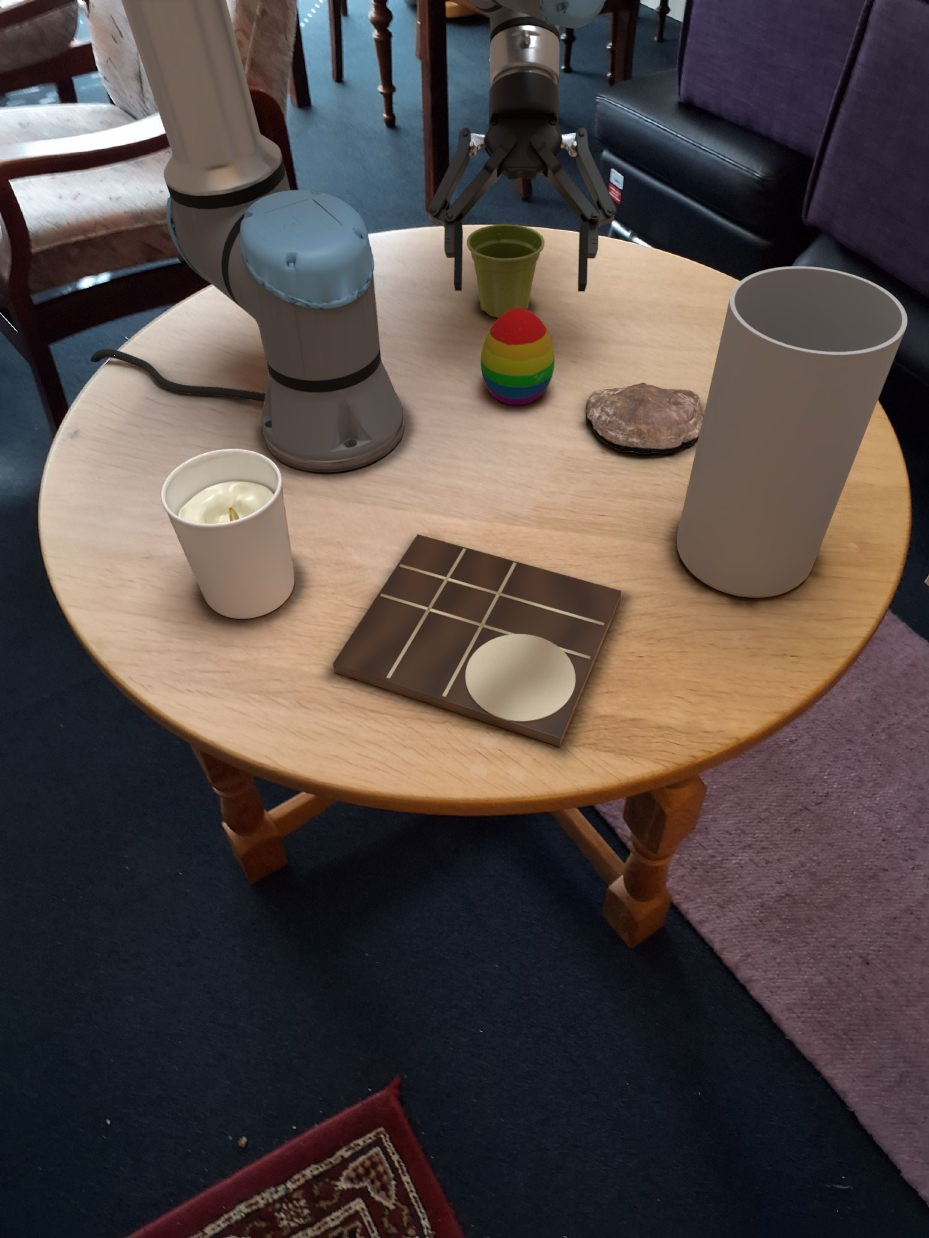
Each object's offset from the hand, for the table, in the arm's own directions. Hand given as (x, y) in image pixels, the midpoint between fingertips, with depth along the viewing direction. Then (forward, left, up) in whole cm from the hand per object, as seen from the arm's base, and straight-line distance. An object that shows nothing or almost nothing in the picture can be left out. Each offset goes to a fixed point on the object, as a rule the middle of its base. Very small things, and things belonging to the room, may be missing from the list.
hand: (519, 288), depth 98 cm
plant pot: (-6, +12, -10) cm, 17 cm away
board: (+12, -40, -10) cm, 43 cm away
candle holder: (-10, -43, -10) cm, 45 cm away
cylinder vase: (+31, -22, -10) cm, 39 cm away
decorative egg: (+2, -5, -10) cm, 11 cm away
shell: (+17, -6, -10) cm, 20 cm away
